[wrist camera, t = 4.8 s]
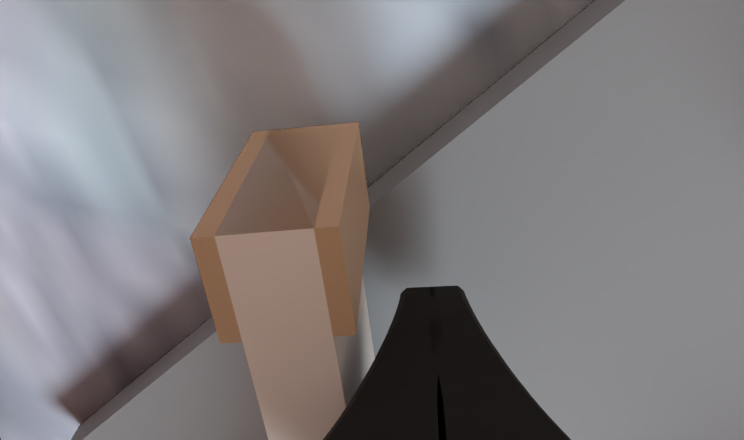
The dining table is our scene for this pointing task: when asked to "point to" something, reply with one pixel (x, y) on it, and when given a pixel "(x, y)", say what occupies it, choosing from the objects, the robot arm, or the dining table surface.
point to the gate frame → (552, 238)
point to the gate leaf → (293, 272)
